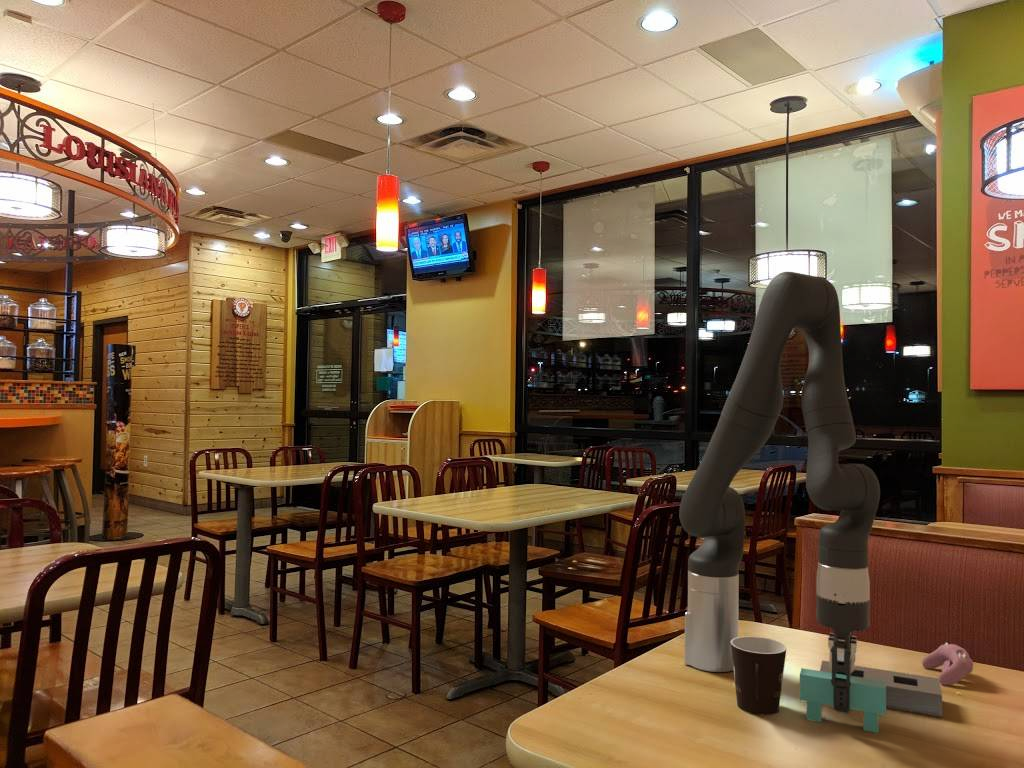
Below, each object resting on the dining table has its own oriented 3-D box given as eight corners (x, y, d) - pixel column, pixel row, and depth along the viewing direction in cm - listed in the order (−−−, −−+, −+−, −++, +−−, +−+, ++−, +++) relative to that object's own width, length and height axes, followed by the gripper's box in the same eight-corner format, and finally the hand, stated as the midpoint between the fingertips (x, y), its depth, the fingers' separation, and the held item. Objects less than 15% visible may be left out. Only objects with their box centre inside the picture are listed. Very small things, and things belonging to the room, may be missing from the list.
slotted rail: (818, 696, 126) (818, 675, 126) (822, 680, 133) (822, 660, 133) (942, 717, 118) (942, 695, 118) (938, 699, 125) (938, 678, 125)
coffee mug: (746, 692, 127) (746, 633, 127) (795, 707, 121) (795, 645, 121) (710, 711, 119) (710, 648, 119) (761, 729, 112) (761, 662, 113)
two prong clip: (799, 719, 116) (799, 674, 116) (801, 712, 119) (801, 668, 119) (885, 735, 111) (885, 688, 111) (885, 727, 113) (885, 681, 114)
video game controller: (963, 697, 130) (983, 662, 130) (937, 683, 131) (957, 648, 130) (942, 676, 140) (960, 644, 139) (918, 663, 141) (936, 631, 140)
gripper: (819, 581, 123) (819, 683, 123) (812, 601, 110) (812, 716, 110) (870, 586, 120) (870, 692, 120) (869, 608, 107) (869, 726, 107)
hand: (842, 703), depth 115 cm, fingers open, 6 cm apart
